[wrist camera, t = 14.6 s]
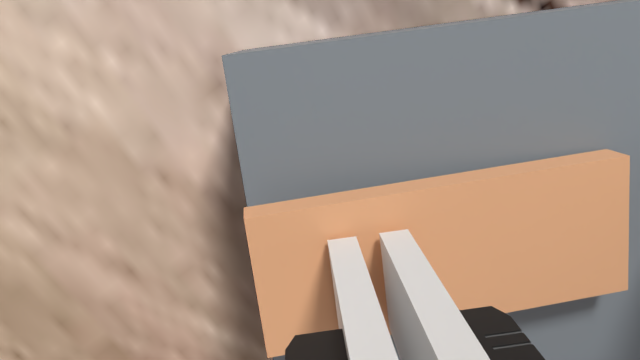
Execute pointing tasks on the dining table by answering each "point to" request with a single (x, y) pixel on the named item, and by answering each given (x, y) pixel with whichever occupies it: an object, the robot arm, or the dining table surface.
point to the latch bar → (452, 239)
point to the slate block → (454, 125)
